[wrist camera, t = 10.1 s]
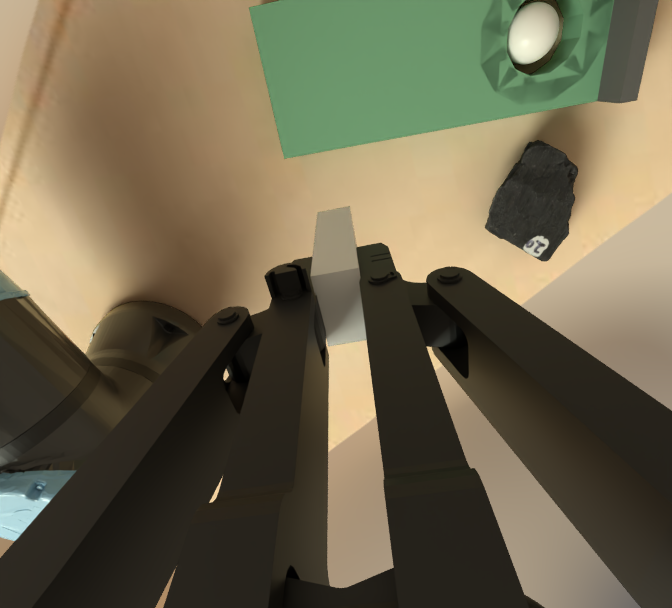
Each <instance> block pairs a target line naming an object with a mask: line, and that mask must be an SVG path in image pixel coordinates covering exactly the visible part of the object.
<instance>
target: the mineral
mask: <svg viewBox="0 0 672 608" xmlns="http://www.w3.org/2000/svg"><path fill="white" fill-rule="evenodd" d="M577 174H578V168H577V166H576V165H574V164H573V163H572V162H570V161H569V160H568V158H567V156H566V154H565V153H563V152H562V151H560V150H558V149H556V148H553V147H552V146H551V145H549V144H546V143H544V142H542V141H539V140H537V141H535V142H529V143H528V145H527V146H526V148H525V150H524V153H523V154H522V156H521V159H520V160H519V162H518V163H516V164H515V166H514V167H513V169H512V170H511V172H510V173H509V175H508V177H507V178H506V180H505V181H504V183H503V184H502V185H501V186H500V188H499V189H498V191H497V193H496V195H495V197H494V199H493V202H492V205H491V207H490V210H489V218H488V220H487V223H486V225H485V228H486V229H487V230H488V231H489V232H490V233H492V234H494V235H496V236H497V237H498V238H500V239H505V240H507V241H508V242H510V243H511V244H513V245H515V246H517V247H519V248H520V249H522V250H524V251H525V252H526V253H528V254H530V255H532V256H534V257H535V258H537V259H539V260H541V261H548V260H549V259H550V258H551V256H552V255H553V253H554V252H555V251H556V249H557V248H558V246H559V245H560V244H561V243H562V241H563V240H564V239H565V238H566V237H567V236H568V234H569V223H568V221H569V219H570V216H571V208H572V206H573V204H574V201H575V196H574V194H573V185H574V182H575V178H576V176H577Z"/></svg>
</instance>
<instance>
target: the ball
mask: <svg viewBox="0 0 672 608" xmlns="http://www.w3.org/2000/svg"><path fill="white" fill-rule="evenodd" d="M558 32H559V17H558V14H557V12H556V11H555V9H554V8H553V7H552V6H551V5H549V4H547V3H544V2H533V3H529V4H527V5H525V6H523V7H522V8H520V9H519V10H518V11H516V14H515V16H514V18H513V20H512V22H511V24H510V26H509V28H508V35H507V54H508V56H509V58H510V60H511V61H512V62H514V63H517V64H530V63H533V62H535V61H537V60H539V59H540V58H542V57H543V56H544V55H545V54H547V53H548V51H549V50H550V49H551V48H552V46H553V45H554V43H555V41H556V39H557V36H558Z"/></svg>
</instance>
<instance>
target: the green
mask: <svg viewBox="0 0 672 608" xmlns="http://www.w3.org/2000/svg"><path fill="white" fill-rule="evenodd" d="M524 1H526V0H279V1H275V2H271V3H266V4H262V5H258V6H253V7H249V10H250V15H251V19H252V23H253V27H254V32H255V36H256V40H257V44H258V49H259V53H260V57H261V61H262V66H263V70H264V74H265V78H266V83H267V87H268V91H269V96H270V100H271V104H272V108H273V113H274V117H275V121H276V125H277V130H278V134H279V138H280V142H281V147H282V151H283V155H284V159H286V158H291V157H297V156H302V155H307V154H313V153H318V152H324V151H329V150H335V149H340V148H345V147H351V146H356V145H362V144H367V143H373V142H378V141H383V140H389V139H394V138H400V137H405V136H411V135H416V134H421V133H427V132H432V131H438V130H443V129H449V128H454V127H459V126H465V125H470V124H476V123H481V122H487V121H492V120H497V119H503V118H508V117H514V116H519V115H525V114H530V113H535V112H541V111H546V110H552V109H557V108H563V107H568V106H573V105H579V104H584V103H590V102H595V101H601V102H611V103H625V102H630V101H636V100H637V97H638V93H639V88H640V83H641V79H642V74H643V70H644V65H645V60H646V56H647V51H648V46H649V42H650V37H651V32H652V28H653V23H654V19H655V14H656V9H657V5H658V0H556V1H557V4H558V6H559V8H560V11H561V13H562V16H563V18H564V21H563V30H562V38H561V42H560V43H559V45H558V47H557V49H556V51H555V52H554V54H553V56H552V58H551V59H550V61H548V62H547V63H546V64H545V65H543V66H542V67H541V68H539V69H538V70H537V71H536V72H534V73H531V74H525V73H523V72H520V71H518V70H516V69H515V68H514V66H513V64H512V62H511V60H510V58H509V56H508V54H507V35H508V28H509V26H510V24H511V22H512V20H513V18H514V16H515V14H516V11H517V9H518V7H519V6H520V5H521V4H522V3H523V2H524Z"/></svg>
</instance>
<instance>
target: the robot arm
mask: <svg viewBox="0 0 672 608" xmlns="http://www.w3.org/2000/svg"><path fill="white" fill-rule="evenodd" d="M265 279H266V282H267V285H268V288H269V291H270V294H271V297H272V300H271V304H270V307H269V309H267V310H265V311H263V312H260V313H257V314H254V315H252V316H250V314H249V311H248V309H247V308H245V307H239V306H237V307H228V308H227V309H226V308H225V309H223V310H221V311H220V312H218V313H216V314H215V315H213V316H212V317H211V318H210V319H209V320H208V321H207V322H206V324H205V325H204V326H203V327H201V326H200V325H199V324H198V323H197V322H196V321H195V320H194V319H192V318H191V317H189V316H188V315H186V314H185V313H183V312H181V311H179V310H177V309H175V308H173V307H170V306H167V305H164V304H160V303H156V302H148V301H137V302H130V303H126V304H123V305H120V306H118V307H116V308H114V309H113V310H111V311H110V312H109V313H108V314H107V315H106V316H105V317H104V318H103V319H102V320H101V321H100V322H99V323H98V325H97V326H96V327H95V329H94V331H93V333H92V336H91V339H90V345H89V347H88V350H87V352H86V355H85V354H84V353H83V352H82V351H81V350H80V349H79V348H78V347H77V346H76V345H75V344H74V343H73V342H72V341H71V340H70V339H69V338H68V337H67V336H66V335H65V334H64V333H63V332H62V331H61V329H60V328H59V327H58V326H57V325H56V324H55V323H54V322H53V321H52V320H51V319H50V318H49V317H48V316H47V315H46V314H45V313H44V312H43V311H42V310H41V309H40V308H39V307H38V306H37V304H36V303H35V302H34V301H33V300H32V299H31V298H30V297H29V296H30V294H29V293H28V292H27V291H26V290H22V289H21V288H20V287H19V286H18V285H16V284H15V283H14V282H13V281H12V280H11V279H10V278H9V277H8V276H7V275H5V274H4V273H3V272H2V271H1V270H0V537H2V538H5V539H9V540H13V541H15V542H14V543H13V544H12V545H11V546H10V547H9V549H8V550H7V551H6V552H5V553H4V554H3V556H2V557H1V558H0V608H155V607H156V605H157V603H158V601H159V599H160V597H161V595H162V593H163V591H164V589H165V587H166V585H167V583H168V581H169V579H170V577H171V576H172V574H173V571H174V570H175V568H176V570H175V573H174V576H173V579H172V582H171V586H170V589H169V592H168V595H167V598H166V601H165V604H164V607H163V608H544V607H543V606H542V605H540V604H539V603H538V602H536V601H534V600H532V599H531V598H529V597H528V596H526V595H524V593H523V590H522V587H521V584H520V582H519V579H518V576H517V574H516V571H515V568H514V566H513V563H512V560H511V558H510V555H509V553H508V550H507V547H506V544H505V542H504V539H503V536H502V534H501V531H500V528H499V526H498V523H497V520H496V517H495V515H494V512H493V510H492V507H491V504H490V501H489V499H488V496H487V493H486V491H485V488H484V486H483V483H482V481H481V479H480V476H479V474H478V473H477V471H476V470H475V469H474V468H472V469H470V467H469V465H468V463H467V461H466V458H465V455H464V452H463V450H462V447H461V444H460V441H459V438H458V435H457V433H456V430H455V427H454V424H453V421H452V419H451V416H450V413H449V410H448V407H447V404H446V402H445V399H444V396H443V393H442V390H441V388H440V384H439V382H438V379H437V376H436V373H435V370H434V367H433V365H432V362H431V359H430V356H429V353H428V350H427V348H426V346H429V347H432V350H433V352H434V355H435V356H436V357H437V358H438V359H439V361H440V362H441V363H442V364H443V366H444V367H445V368H446V369H447V370H448V372H449V373H450V374H451V375H452V377H453V378H454V379H455V380H456V381H457V383H458V384H459V385H460V386H461V388H462V389H463V390H464V391H465V392H466V394H467V395H468V396H469V397H470V399H471V400H472V401H473V402H474V403H475V405H476V406H477V407H478V408H479V410H480V411H481V412H482V413H483V414H484V416H485V417H486V418H487V420H488V421H489V422H490V423H491V425H492V426H493V427H494V428H495V429H496V431H497V432H498V433H499V434H500V436H501V437H502V438H503V439H504V440H505V441H506V443H507V444H508V445H509V447H510V448H511V449H512V450H513V451H514V453H515V454H516V455H517V456H518V457H519V459H520V460H521V461H522V463H523V464H524V465H525V466H526V467H527V469H528V470H529V471H530V472H531V473H532V475H533V476H534V477H535V479H536V480H537V481H538V482H539V483H540V485H541V486H542V487H543V488H544V490H545V491H546V492H547V493H548V494H549V496H550V497H551V498H552V499H553V500H554V502H555V503H556V504H557V505H558V507H559V508H560V509H561V510H562V511H563V513H564V514H565V515H566V517H567V518H568V519H569V520H570V522H571V523H572V524H573V525H574V526H575V528H576V529H577V530H578V531H579V533H580V534H581V535H582V536H583V537H584V539H585V540H586V541H587V542H588V544H589V545H590V546H591V547H592V549H593V550H594V551H595V552H596V553H597V555H598V556H599V557H600V558H601V560H602V561H603V562H604V563H605V564H606V566H607V567H608V568H609V569H610V571H611V572H612V573H613V574H614V575H615V577H616V578H617V579H618V580H619V582H620V583H621V584H622V585H623V587H624V588H625V589H626V590H627V592H628V593H629V594H630V595H631V596H632V598H633V599H634V600H635V601H636V602H637V603H638V605H639V606H640V607H641V608H672V411H671V410H670V409H668V408H667V407H665V406H664V405H663V404H661V403H660V402H658V401H657V400H655V399H654V398H652V397H651V396H650V395H648V394H647V393H645V392H644V391H642V390H641V389H639V388H638V387H637V386H635V385H634V384H632V383H631V382H629V381H628V380H627V379H625V378H624V377H622V376H621V375H619V374H618V373H616V372H615V371H614V370H612V369H611V368H609V367H608V366H606V365H605V364H603V363H602V362H601V361H599V360H598V359H596V358H595V357H593V356H592V355H590V354H589V353H588V352H586V351H585V350H583V349H582V348H580V347H579V346H577V345H576V344H574V343H573V342H572V341H570V340H569V339H567V338H566V337H564V336H563V335H562V334H560V333H559V332H557V331H556V330H554V329H553V328H551V327H550V326H549V325H547V324H546V323H544V322H543V321H541V320H540V319H538V318H537V317H536V316H534V315H532V314H531V313H530V312H528V311H527V310H525V309H524V308H522V307H521V306H520V305H518V304H517V303H515V302H514V301H513V300H511V299H510V298H508V297H507V296H505V295H504V294H502V293H501V292H500V291H498V290H497V289H495V288H494V287H492V286H491V285H489V284H488V283H487V282H485V281H484V280H482V279H481V278H479V277H478V276H476V275H475V274H474V273H472V272H471V271H469V270H466V269H464V268H459V267H444V268H441V269H437V270H435V271H433V272H431V273H430V274H429V275H428V276H427V279H426V282H427V283H412V282H407V281H405V280H403V279H402V277H401V275H400V273H399V272H397V271H396V269H395V266H394V263H393V260H392V257H391V254H390V251H389V248H388V246H386V245H384V244H382V243H377V244H372V245H366V246H361V247H357V244H356V239H355V233H354V227H353V222H352V216H351V211H350V206H348V207H343V208H338V209H333V210H328V211H323V212H318V213H317V222H316V231H315V239H314V248H313V257H308V258H303V259H297V260H294V261H293V262H292V263H287V264H283V265H279V266H277V267H275V268H273V269H271V270H270V271H268V272H267V273H266V275H265ZM326 338H327V342H328V346H333V345H339V344H345V343H351V342H357V341H364V340H367V346H368V354H369V362H370V369H371V377H372V385H373V393H374V400H375V408H376V416H377V423H378V431H379V439H380V446H381V454H382V462H383V470H384V492H385V500H386V509H387V517H388V524H389V533H390V540H391V549H392V557H393V565H394V568H392V569H390V570H387V571H385V572H383V573H380V574H378V575H376V576H373V577H371V578H368V579H367V580H364V581H361V582H359V583H357V584H355V585H352V586H350V587H347V588H335V587H330V585H329V579H328V570H327V513H328V509H327V507H328V388H329V354H328V350H327V347H326ZM225 369H227V371H228V373H229V376H228V378H227V379H226V380H225V381H224V380H223V375H224V372H225ZM223 474H224V475H223ZM222 476H223V478H222ZM221 478H222V482H221V486H220V489H219V493H218V495H217V498H216V499H215V500H214V501H213V502H212V503H209V502H210V500H211V498H212V496H213V494H214V492H215V490H216V488H217V486H218V484H219V482H220V480H221ZM176 566H177V567H176Z"/></svg>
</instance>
